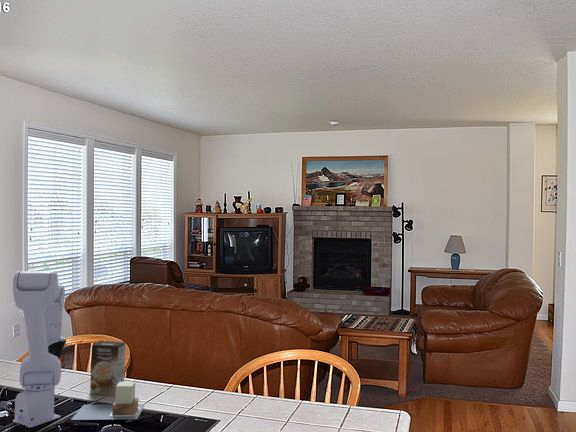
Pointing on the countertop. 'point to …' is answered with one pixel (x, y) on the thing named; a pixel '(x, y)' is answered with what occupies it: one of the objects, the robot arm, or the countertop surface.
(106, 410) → the light blue flat board
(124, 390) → the sage block
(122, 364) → the coffee box
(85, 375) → the countertop surface
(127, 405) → the walnut block
